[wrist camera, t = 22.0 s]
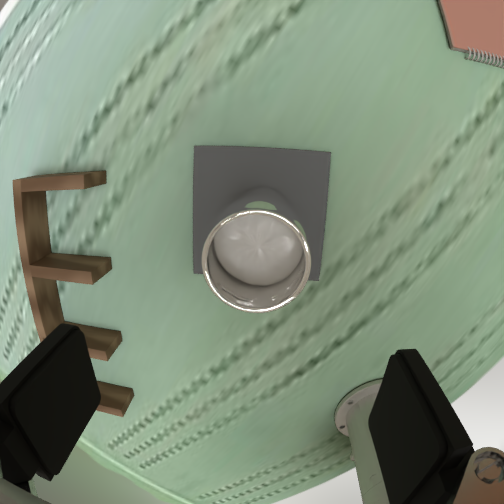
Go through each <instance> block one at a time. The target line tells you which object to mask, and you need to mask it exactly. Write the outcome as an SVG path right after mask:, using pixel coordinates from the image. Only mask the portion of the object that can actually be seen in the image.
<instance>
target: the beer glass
mask: <svg viewBox="0 0 504 504" xmlns="http://www.w3.org/2000/svg"><path fill="white" fill-rule="evenodd" d="M202 270H203V274H204V277H205V280H206V282H207V284H208V286H209V287H210V289H211V290H212V292H213V293H214V294H215V295H216V296H217V297H218V298H219V299H220V300H221V301H222V302H224V303H225V304H227V305H229V306H230V307H232V308H235V309H237V310H240V311H244V312H249V313H265V312H270V311H274V310H277V309H279V308H282V307H284V306H285V305H287V304H289V303H290V302H291V301H293V300H294V299H295V298H296V297H297V296H298V295H299V294H300V292H301V291H302V290H303V288H304V287H305V285H306V283H307V280H308V278H309V275H310V270H311V254H310V249H309V243H308V238H307V234H306V231H305V228H304V225H303V223H302V221H301V220H300V218H299V217H298V215H297V214H296V212H295V211H294V210H293V209H292V208H291V207H290V206H289V204H288V202H287V200H286V199H285V197H284V196H283V195H282V194H281V193H279V192H278V191H276V190H274V189H271V188H268V187H256V188H252V189H250V190H248V191H246V192H244V193H243V194H242V195H241V196H240V197H239V198H238V200H236V201H234V202H233V203H231V204H230V205H229V206H228V207H226V208H225V209H224V210H223V211H222V212H221V214H220V215H219V216H218V218H217V219H216V221H215V222H214V224H213V226H212V228H211V230H210V233H209V235H208V237H207V239H206V241H205V244H204V247H203V251H202Z"/></svg>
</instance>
